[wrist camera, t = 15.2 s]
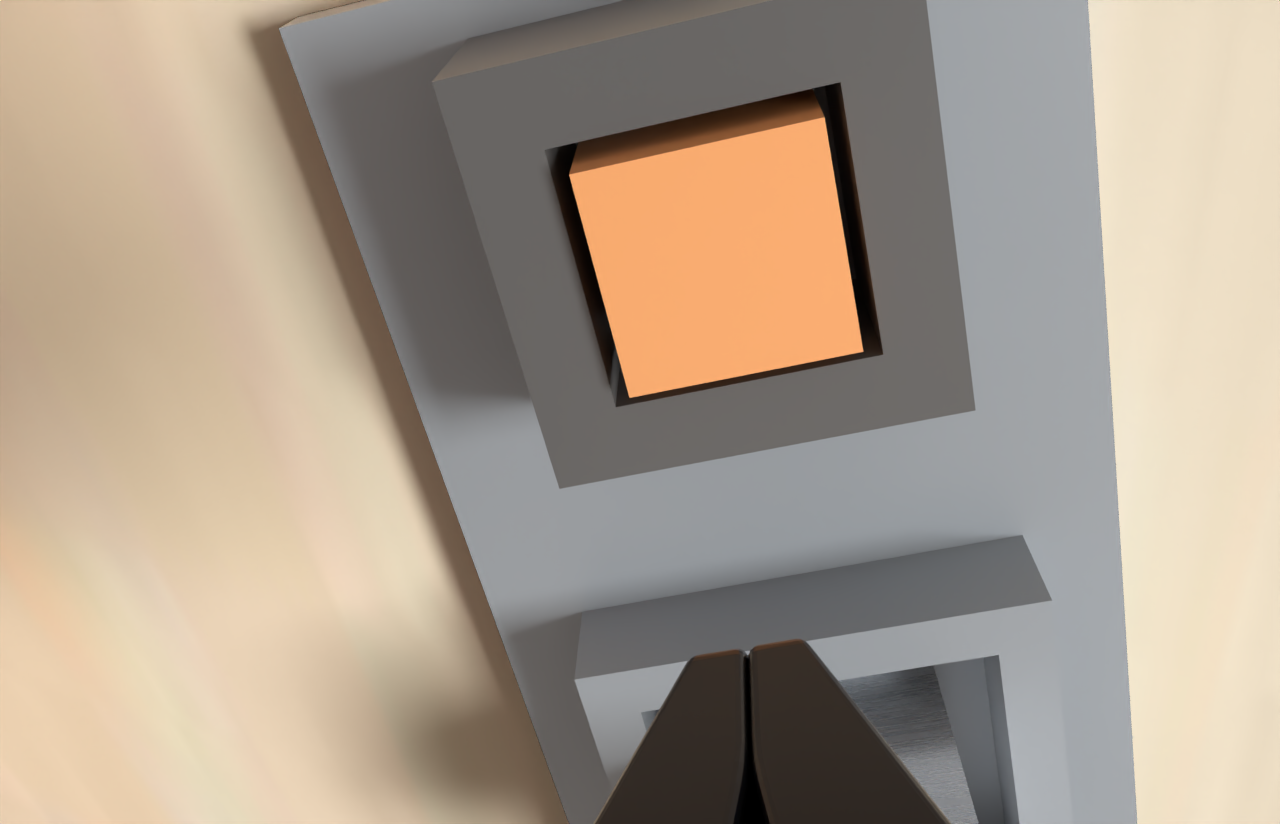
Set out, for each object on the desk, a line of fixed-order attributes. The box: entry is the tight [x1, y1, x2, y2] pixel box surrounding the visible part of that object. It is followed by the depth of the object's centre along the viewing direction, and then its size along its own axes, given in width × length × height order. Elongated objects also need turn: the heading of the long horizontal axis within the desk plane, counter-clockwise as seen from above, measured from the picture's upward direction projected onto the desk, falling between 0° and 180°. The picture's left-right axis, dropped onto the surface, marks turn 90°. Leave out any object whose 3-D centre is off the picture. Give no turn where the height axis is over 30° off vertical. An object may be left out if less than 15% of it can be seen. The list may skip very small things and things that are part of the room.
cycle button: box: [569, 89, 863, 398], centre depth 18 cm, size 3×3×3 cm
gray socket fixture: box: [279, 0, 1137, 824], centre depth 22 cm, size 24×12×4 cm, turn 13°
